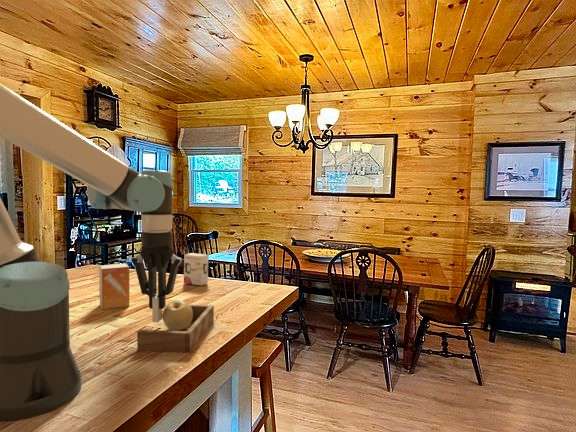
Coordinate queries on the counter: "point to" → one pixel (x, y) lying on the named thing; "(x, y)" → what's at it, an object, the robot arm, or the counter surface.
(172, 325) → the apple
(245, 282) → the counter surface
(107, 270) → the small box
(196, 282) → the ink box
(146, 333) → the trough
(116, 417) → the counter surface
